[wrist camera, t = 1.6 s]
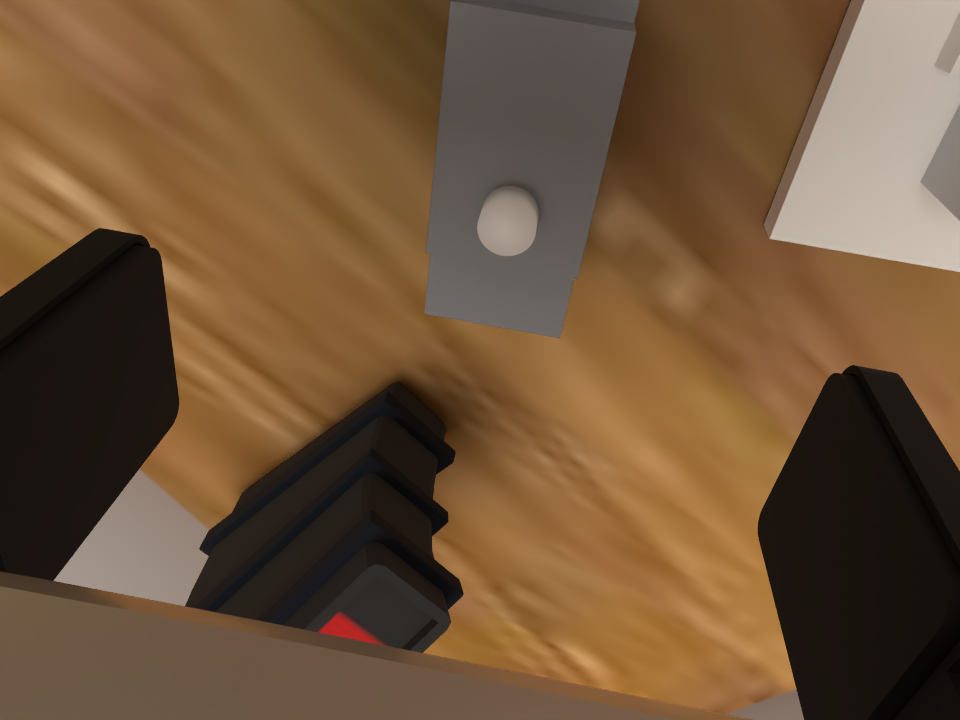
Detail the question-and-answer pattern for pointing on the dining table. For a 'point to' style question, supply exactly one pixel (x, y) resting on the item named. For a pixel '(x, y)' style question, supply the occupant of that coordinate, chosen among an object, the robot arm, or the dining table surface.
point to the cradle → (881, 140)
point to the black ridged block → (342, 534)
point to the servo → (522, 154)
